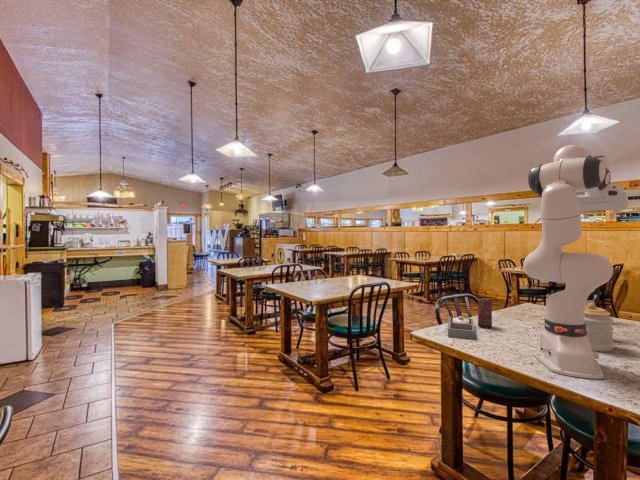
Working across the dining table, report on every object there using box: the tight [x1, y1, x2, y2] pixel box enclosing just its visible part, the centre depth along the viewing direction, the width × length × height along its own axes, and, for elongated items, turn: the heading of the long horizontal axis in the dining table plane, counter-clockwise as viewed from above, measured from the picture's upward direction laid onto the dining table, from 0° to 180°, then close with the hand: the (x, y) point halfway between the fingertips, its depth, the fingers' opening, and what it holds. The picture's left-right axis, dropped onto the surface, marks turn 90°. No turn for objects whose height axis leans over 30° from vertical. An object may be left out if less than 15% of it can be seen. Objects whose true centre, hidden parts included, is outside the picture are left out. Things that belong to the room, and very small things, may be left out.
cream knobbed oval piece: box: [452, 315, 470, 324], centre depth 156 cm, size 8×8×4 cm
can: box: [477, 297, 494, 329], centre depth 157 cm, size 6×6×14 cm
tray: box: [447, 316, 476, 340], centre depth 151 cm, size 22×11×4 cm, turn 157°
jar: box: [584, 302, 614, 353], centre depth 129 cm, size 13×13×18 cm
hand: (599, 218), depth 150 cm, fingers open, 8 cm apart
